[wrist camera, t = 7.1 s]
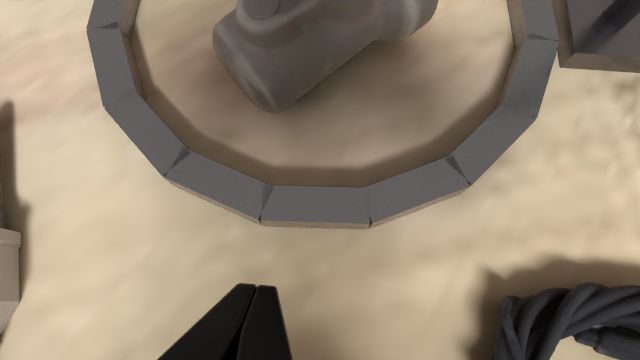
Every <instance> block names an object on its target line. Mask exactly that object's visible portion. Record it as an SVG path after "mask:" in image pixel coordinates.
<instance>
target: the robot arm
mask: <svg viewBox="0 0 640 360" xmlns="http://www.w3.org/2000/svg"><path fill="white" fill-rule="evenodd" d="M157 360H293V357H292V353H291V349H290V344H289V340H288V336H287V331H286V327H285V322H284V318H283V314H282V309H281V305H280V301H279V296H278V292H277V288H276V287H275V286H267V285H259V286H258V287H257V286H256V285H254V284H244V283H240V284H237V285H236V286H235V287H234V288H233V289H232V290H231V291H230V292H229V293H228V294H226V295H225V296H224V297H223V298H222V299H221V300H220V301H219V302H218V303H217V304H216V305H215V306H214V307H213V308H212V309H210V310H209V311H208V312H207V313H206V314H205V315H204V316H203V317H202V318H201V319H200V320H199V321H198V322H197V323H196V324H194V325H193V326H192V327H191V328H190V329H189V330H188V331H187V332H186V333H185V334H184V335H183V336H182V337H181V338H180V339H178V340H177V341H176V342H175V343H174V344H173V345H172V346H171V347H170V348H169V349H168V350H167V351H166V352H165V353H164V354H163V355H161V356H160V357H159V358H158V359H157Z"/></svg>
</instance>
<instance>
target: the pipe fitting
mask: <svg viewBox="0 0 640 360" xmlns="http://www.w3.org/2000/svg"><path fill="white" fill-rule="evenodd" d="M437 4H438V0H238V2H237V6H236V9H234V10H233V11H232V12H230V13H229V14H228V15H227V16H225V17H224V18H223V19H222V20H220V21H219V22H218V23H217V24H216V25H215V27H214V29H213V46H214V50H215V52H216V54H217V56H218V58H219V59H220V61H221V62H222V64H223V65H224V67H225V68H226V69H227V71H228V72H229V74H230V75H231V76H232V78H233V79H234V80H235V82H236V83H237V84H238V85H239V87H240V88H241V89H242V90H243V92H244V93H245V94H246V95H247V96H248V98H249V99H250V100H251V101H252V102H253V103H254V104H255V105H256V106H257V107H258V108H260V109H262V110H264V111H267V112H271V113H280V112H281V111H283V110H284V109H286V108H287V107H288V106H290V105H291V104H293V103H294V102H295V101H297V100H298V99H299V98H301V97H302V96H303V95H304V94H306V93H307V92H308V91H310V90H311V89H312V88H313V87H315V86H316V85H317V84H319V83H320V82H321V81H322V80H324V79H325V78H326V77H328V76H329V75H330V74H331V73H333V72H334V71H335V70H337V69H338V68H339V67H340V66H342V65H343V64H344V63H346V62H347V61H348V60H349V59H351V58H352V57H353V56H355V55H356V54H357V53H358V52H360V51H361V50H362V49H364V48H365V47H366V46H367V45H369V44H370V43H371V42H373V41H383V42H398V41H402V40H404V39H406V38H407V37H409V36H410V35H412V34H413V33H414V32H416V31H417V30H418V29H420V28H421V27H422V26H424V25H425V24H426V23H427V22H428V21H429V20H430V19H431V18H432V16H433V14H434V12H435V10H436V7H437Z"/></svg>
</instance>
